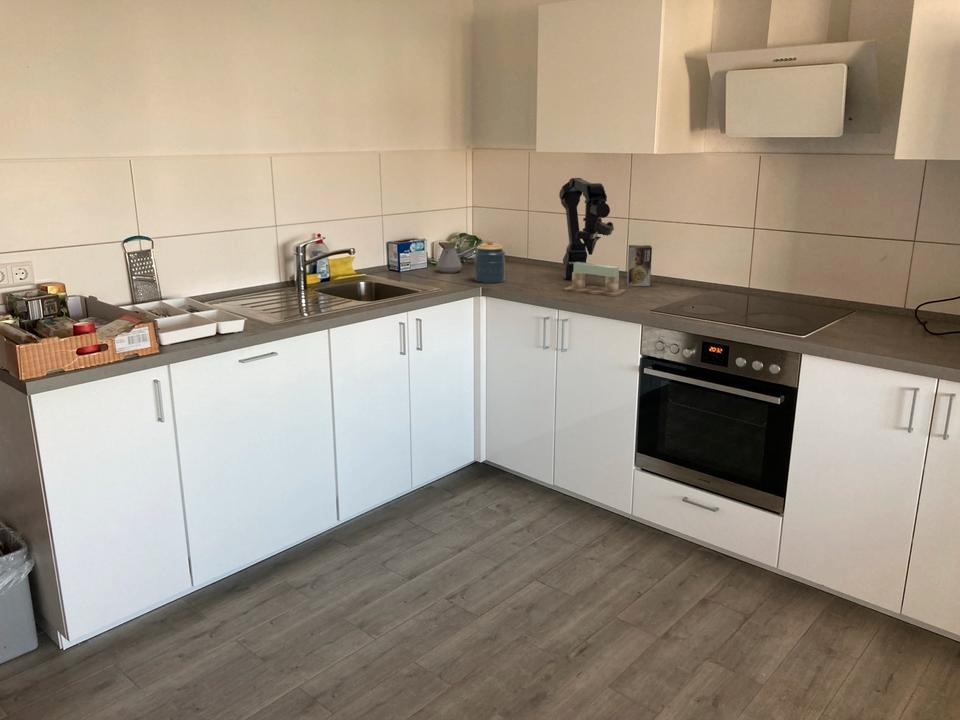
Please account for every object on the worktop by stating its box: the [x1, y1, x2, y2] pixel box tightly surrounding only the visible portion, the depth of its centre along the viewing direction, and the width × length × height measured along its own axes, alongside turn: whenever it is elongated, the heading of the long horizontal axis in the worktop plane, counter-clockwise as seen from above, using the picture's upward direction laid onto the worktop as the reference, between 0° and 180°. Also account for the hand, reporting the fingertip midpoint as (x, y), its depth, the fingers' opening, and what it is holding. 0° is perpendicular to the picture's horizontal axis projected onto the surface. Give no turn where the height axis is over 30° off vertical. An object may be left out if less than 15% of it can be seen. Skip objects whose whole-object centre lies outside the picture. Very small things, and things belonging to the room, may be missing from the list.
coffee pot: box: [436, 242, 463, 274], centre depth 339 cm, size 21×12×15 cm, turn 166°
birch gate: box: [563, 272, 627, 297], centre depth 302 cm, size 22×11×7 cm, turn 60°
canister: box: [474, 238, 506, 284], centre depth 322 cm, size 13×13×18 cm
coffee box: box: [626, 244, 653, 287], centre depth 315 cm, size 9×6×16 cm
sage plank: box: [573, 262, 620, 277], centre depth 301 cm, size 18×4×4 cm, turn 52°
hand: (590, 254), depth 310 cm, fingers closed
